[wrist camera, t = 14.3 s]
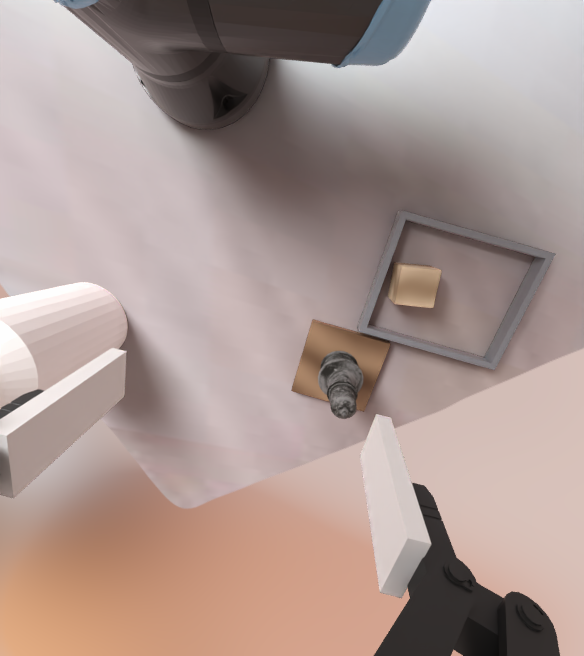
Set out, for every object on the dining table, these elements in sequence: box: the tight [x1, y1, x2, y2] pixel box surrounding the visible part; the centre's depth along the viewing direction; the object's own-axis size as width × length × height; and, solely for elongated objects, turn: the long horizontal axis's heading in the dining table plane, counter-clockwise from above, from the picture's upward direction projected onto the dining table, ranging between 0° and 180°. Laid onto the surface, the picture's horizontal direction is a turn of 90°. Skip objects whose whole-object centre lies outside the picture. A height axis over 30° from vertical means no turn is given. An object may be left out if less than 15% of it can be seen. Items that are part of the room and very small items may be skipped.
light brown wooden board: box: [292, 320, 391, 412], centre depth 46 cm, size 11×11×1 cm
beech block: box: [388, 262, 442, 308], centre depth 40 cm, size 4×4×4 cm
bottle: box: [0, 282, 128, 409], centre depth 36 cm, size 12×12×25 cm
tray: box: [357, 210, 555, 370], centre depth 41 cm, size 16×19×2 cm
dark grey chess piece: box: [318, 351, 363, 419], centre depth 40 cm, size 6×6×12 cm
